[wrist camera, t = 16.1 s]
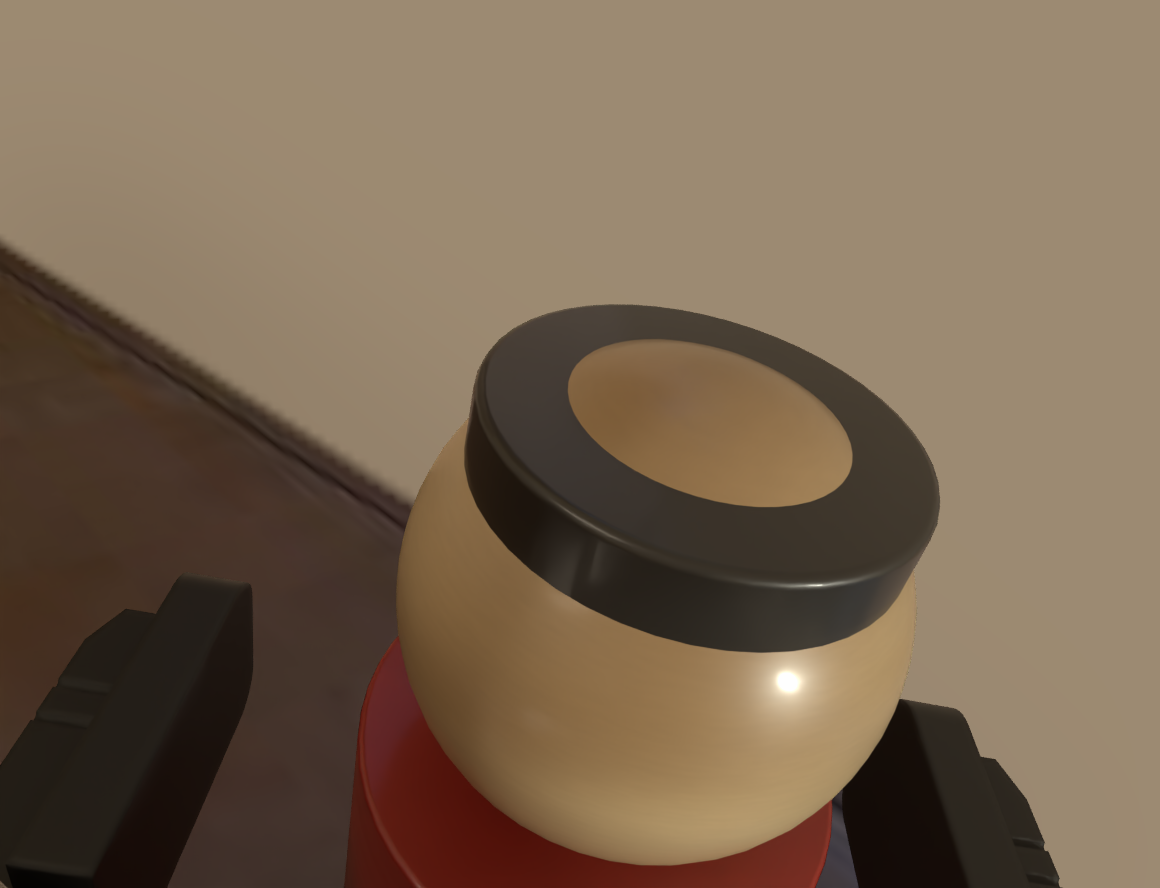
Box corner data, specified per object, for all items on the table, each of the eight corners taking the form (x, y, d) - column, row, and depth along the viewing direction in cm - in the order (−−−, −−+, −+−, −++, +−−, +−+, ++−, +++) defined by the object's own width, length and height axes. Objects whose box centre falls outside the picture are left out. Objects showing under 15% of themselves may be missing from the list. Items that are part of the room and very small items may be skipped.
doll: (254, 1171, 13) (232, 373, 5) (438, 905, 17) (587, 201, 9) (523, 1398, 12) (1026, 780, 4) (661, 1056, 16) (1061, 383, 8)
